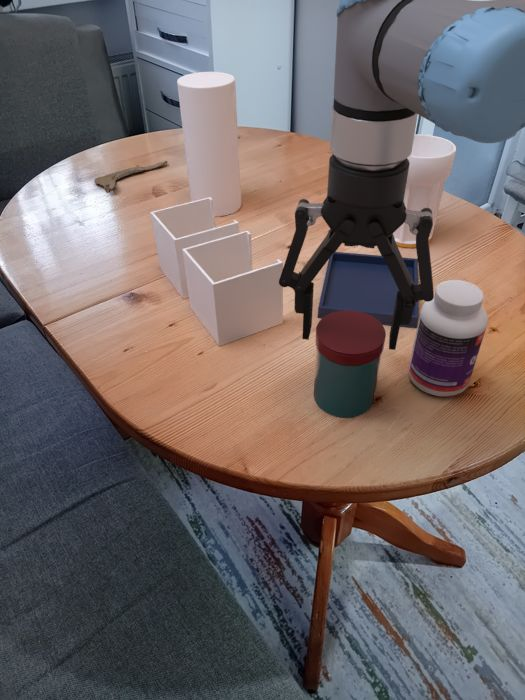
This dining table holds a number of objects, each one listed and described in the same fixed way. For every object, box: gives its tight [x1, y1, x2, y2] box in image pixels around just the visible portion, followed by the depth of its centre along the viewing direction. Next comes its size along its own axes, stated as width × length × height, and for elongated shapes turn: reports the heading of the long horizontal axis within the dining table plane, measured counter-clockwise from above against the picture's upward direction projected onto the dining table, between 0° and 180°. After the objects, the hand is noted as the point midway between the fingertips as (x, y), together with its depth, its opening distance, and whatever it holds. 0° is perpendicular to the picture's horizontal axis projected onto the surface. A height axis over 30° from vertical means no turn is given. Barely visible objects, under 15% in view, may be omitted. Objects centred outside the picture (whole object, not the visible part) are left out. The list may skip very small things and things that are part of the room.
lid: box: [315, 311, 387, 366], centre depth 65 cm, size 8×8×2 cm
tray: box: [317, 251, 420, 329], centre depth 89 cm, size 17×15×2 cm
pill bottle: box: [408, 279, 489, 397], centre depth 69 cm, size 8×8×14 cm
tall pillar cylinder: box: [176, 71, 242, 218], centre depth 107 cm, size 11×11×25 cm
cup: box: [393, 133, 457, 249], centre depth 98 cm, size 11×11×17 cm
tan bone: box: [93, 160, 169, 193], centre depth 128 cm, size 9×20×2 cm, turn 149°
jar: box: [313, 346, 383, 419], centre depth 68 cm, size 8×8×11 cm
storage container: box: [149, 197, 284, 347], centre depth 87 cm, size 25×11×11 cm, turn 29°
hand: (349, 337), depth 65 cm, fingers open, 10 cm apart
